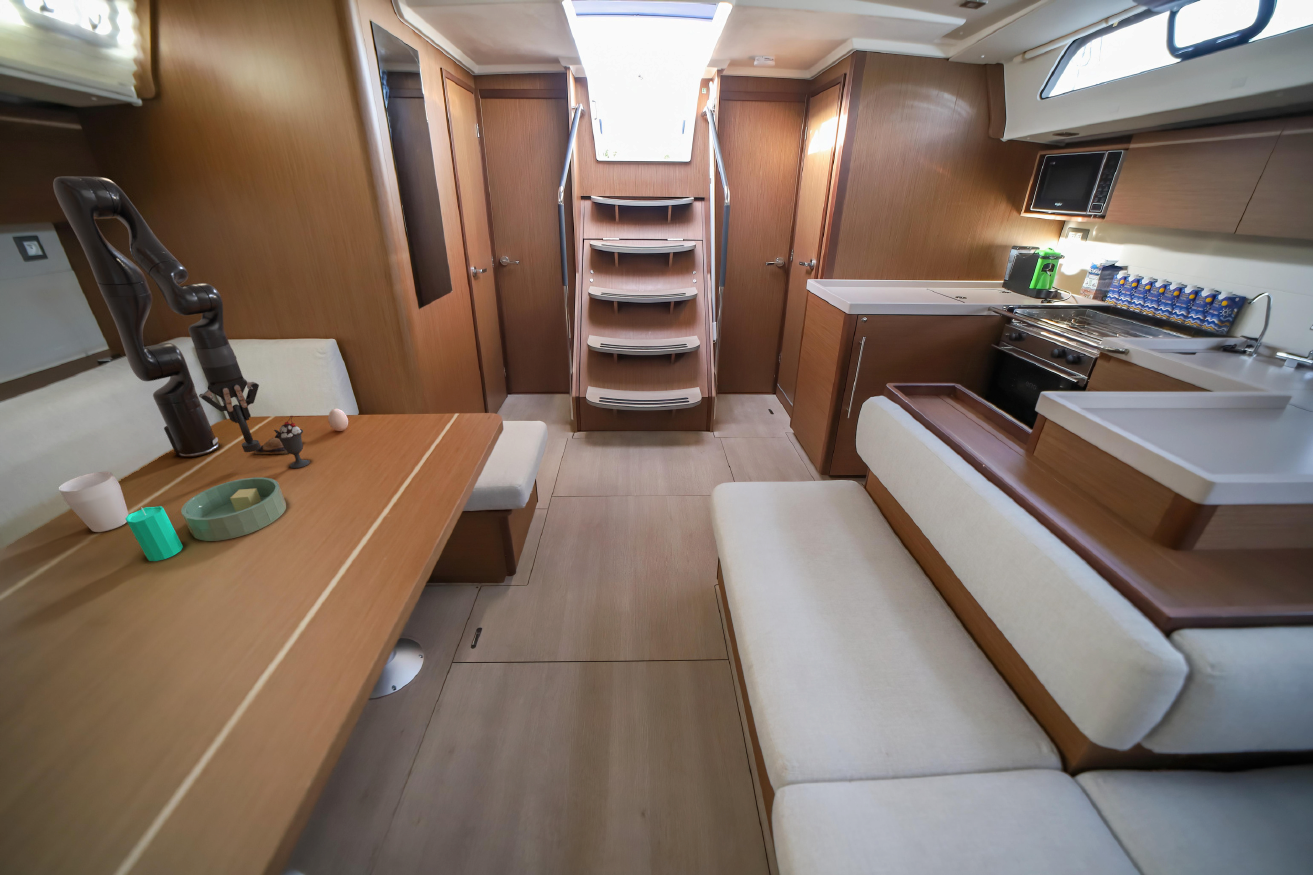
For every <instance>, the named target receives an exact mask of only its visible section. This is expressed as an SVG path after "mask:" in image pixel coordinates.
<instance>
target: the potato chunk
mask: <svg viewBox="0 0 1313 875" xmlns="http://www.w3.org/2000/svg"><path fill="white" fill-rule="evenodd" d="M230 499H231V502H232V504H233V506H234V509H235V511H241V510H244V509H247V508H250V507H252V506H254V505H256V504H258V503H260V502H261V498H260V496H259V493H258V491H257V488H254V489H241V490H238V491H237V492H236V493H235V494H234V495H233V496H232V497H231V498H230Z"/></svg>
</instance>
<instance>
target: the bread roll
mask: <svg viewBox="0 0 1313 875" xmlns="http://www.w3.org/2000/svg"><path fill="white" fill-rule="evenodd" d="M260 446H261V448H260V449H259V450H257V451H253V452H254V455H269V454H270V455H278V454H289V453H288V452H287V451H286V450H285V448H284V446H283V444H282V443H281V441H280V440H279V439H277V438H275V437H272V438H270V439H268V440H267V441H266V442H265V443H264V444H262V445H260Z"/></svg>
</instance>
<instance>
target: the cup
mask: <svg viewBox="0 0 1313 875" xmlns="http://www.w3.org/2000/svg"><path fill="white" fill-rule="evenodd" d="M58 490H59V492H60V494H61V496H62V498H63V501H64V502H65V503H66V504H67V505H68V507H69V508H70V509H71V510H72V511H73V512H74V513H75V515H77V517H79V519H80V520H81V521H82V522H83V523H84V524H85V525H86V526H87V527H88V528H89V529H90V530H91V532H95V533H102V532H103V533H104V532H107V531H111V530H114V529H117V528H119V527H121V526H123V525H125V524H127V521H126V517H127V516H128V514H130V513H129V510H128V507H127V503H126V501H125V496H124V494H123V490H122V487H121V484H120V483H119V481H118V480H117V478H116V477H115V475H114V474H113V473H112V472H110V471H97V472H92V473H87V474H84V475H80V476H77V477H74V478H72V479H69V480H67V481H65V482H64V483H62V484H61V485H60V486H59V487H58Z"/></svg>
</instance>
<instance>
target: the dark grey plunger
mask: <svg viewBox="0 0 1313 875" xmlns="http://www.w3.org/2000/svg"><path fill="white" fill-rule="evenodd" d="M232 406H233V410H234V411H235V412H236V415H237V417H238V420H239V423H237V424H238V426H239V429H240V431H241V434H242V437H243V439H244V442H242V443H241V447H242V450H243V452H245V453H253V452H255V451H257V450H259V449H260V448H261V446H262V445H261V443H260V441H259V440H258V439H253V436H252V432H251V431H250V428H249V425H248V423H247V421H246V420H245V417H244V414H243V412H242V409H241V407H240V405H239V404H238V403H236V404H232Z"/></svg>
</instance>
